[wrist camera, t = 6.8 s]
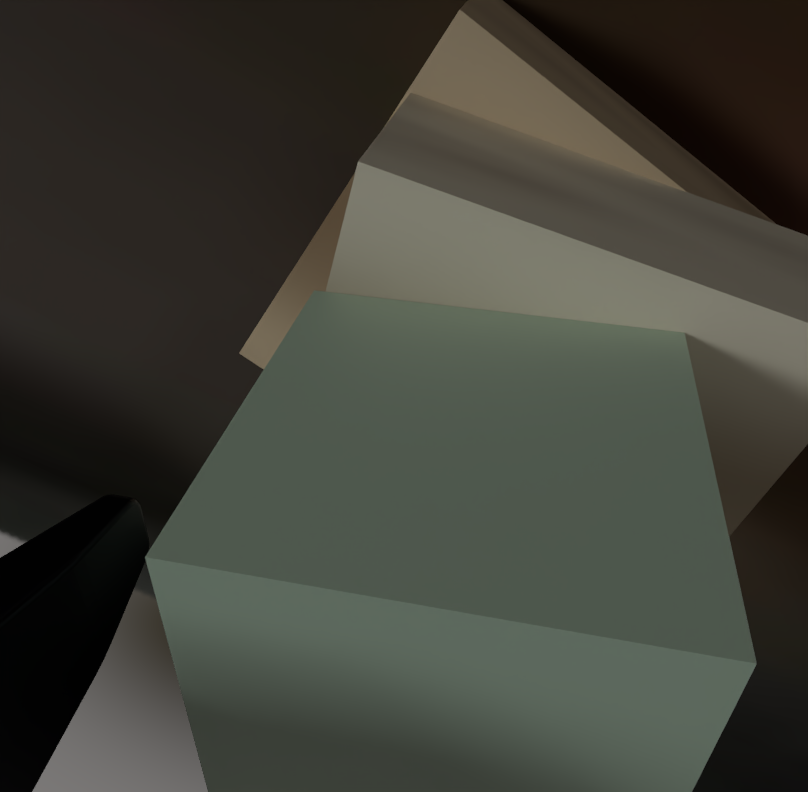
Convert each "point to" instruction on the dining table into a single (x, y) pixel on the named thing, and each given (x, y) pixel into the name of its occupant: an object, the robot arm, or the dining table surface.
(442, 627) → the sage cube
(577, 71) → the oak slab
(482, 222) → the birch slab
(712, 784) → the dining table surface
